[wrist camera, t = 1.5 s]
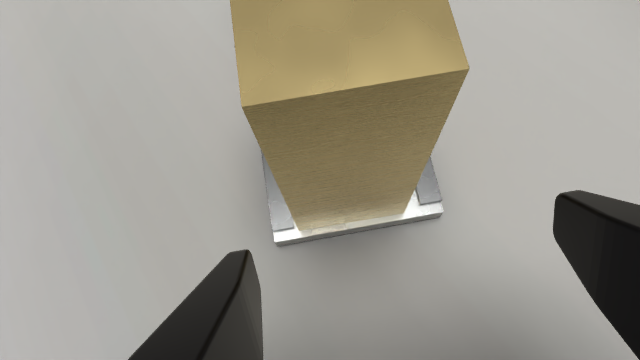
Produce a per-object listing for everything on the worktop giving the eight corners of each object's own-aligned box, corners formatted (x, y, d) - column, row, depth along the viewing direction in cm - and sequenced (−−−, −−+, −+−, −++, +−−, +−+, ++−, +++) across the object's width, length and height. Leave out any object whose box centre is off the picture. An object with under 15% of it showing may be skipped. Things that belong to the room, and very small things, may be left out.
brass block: (404, 213, 21) (469, 68, 10) (298, 230, 21) (241, 107, 10) (378, 101, 23) (408, -126, 12) (282, 117, 23) (219, -94, 12)
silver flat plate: (439, 217, 22) (445, 210, 21) (277, 246, 22) (273, 241, 21) (375, -22, 27) (376, -40, 26) (243, 1, 27) (238, -15, 26)
